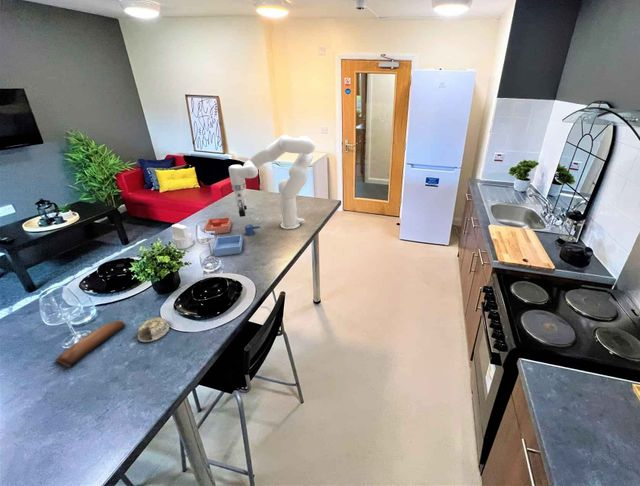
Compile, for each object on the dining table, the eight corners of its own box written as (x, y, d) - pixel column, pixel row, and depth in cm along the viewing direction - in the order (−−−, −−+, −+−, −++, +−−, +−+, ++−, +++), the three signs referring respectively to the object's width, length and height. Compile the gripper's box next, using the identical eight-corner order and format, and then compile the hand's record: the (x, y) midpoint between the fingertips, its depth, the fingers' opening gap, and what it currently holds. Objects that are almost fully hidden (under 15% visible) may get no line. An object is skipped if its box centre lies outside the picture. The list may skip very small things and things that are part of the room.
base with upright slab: (171, 246, 163) (165, 228, 158) (185, 239, 171) (180, 221, 166) (183, 250, 160) (178, 231, 155) (197, 242, 168) (192, 224, 163)
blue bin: (242, 241, 170) (241, 234, 168) (240, 253, 159) (239, 246, 157) (218, 244, 167) (216, 237, 165) (214, 256, 155) (213, 249, 153)
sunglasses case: (109, 321, 112) (110, 312, 109) (124, 331, 112) (126, 322, 109) (53, 361, 96) (53, 351, 93) (70, 372, 96) (71, 363, 93)
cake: (152, 322, 114) (149, 310, 112) (176, 324, 113) (173, 313, 111) (130, 341, 104) (127, 329, 103) (156, 344, 104) (153, 332, 102)
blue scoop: (260, 230, 183) (259, 223, 181) (260, 233, 179) (259, 226, 177) (246, 231, 181) (245, 224, 179) (245, 235, 177) (244, 228, 175)
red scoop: (228, 225, 187) (227, 218, 185) (227, 228, 183) (226, 221, 181) (214, 227, 185) (212, 220, 183) (213, 230, 181) (211, 223, 179)
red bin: (231, 223, 191) (230, 216, 189) (229, 232, 180) (227, 225, 178) (209, 225, 188) (208, 219, 186) (205, 234, 176) (204, 228, 174)
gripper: (244, 190, 161) (249, 218, 168) (246, 181, 176) (250, 206, 183) (229, 191, 159) (235, 219, 166) (233, 182, 174) (238, 207, 181)
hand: (243, 212), depth 174 cm, fingers open, 9 cm apart
